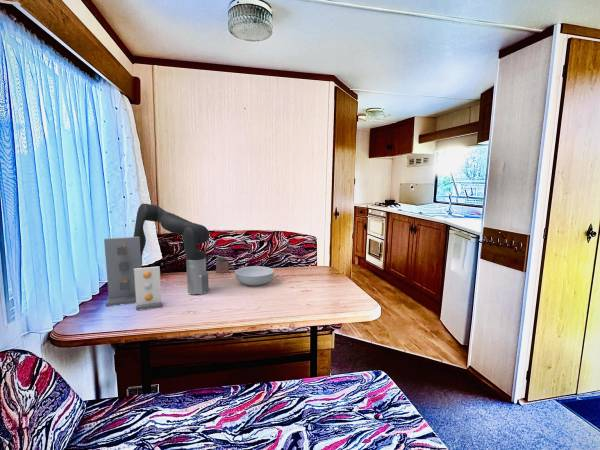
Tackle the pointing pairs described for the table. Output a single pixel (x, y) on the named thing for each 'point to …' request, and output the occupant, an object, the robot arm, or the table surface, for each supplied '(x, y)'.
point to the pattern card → (147, 287)
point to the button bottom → (124, 285)
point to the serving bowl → (254, 275)
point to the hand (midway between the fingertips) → (126, 280)
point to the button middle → (123, 266)
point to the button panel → (116, 275)
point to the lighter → (222, 265)
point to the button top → (121, 250)
